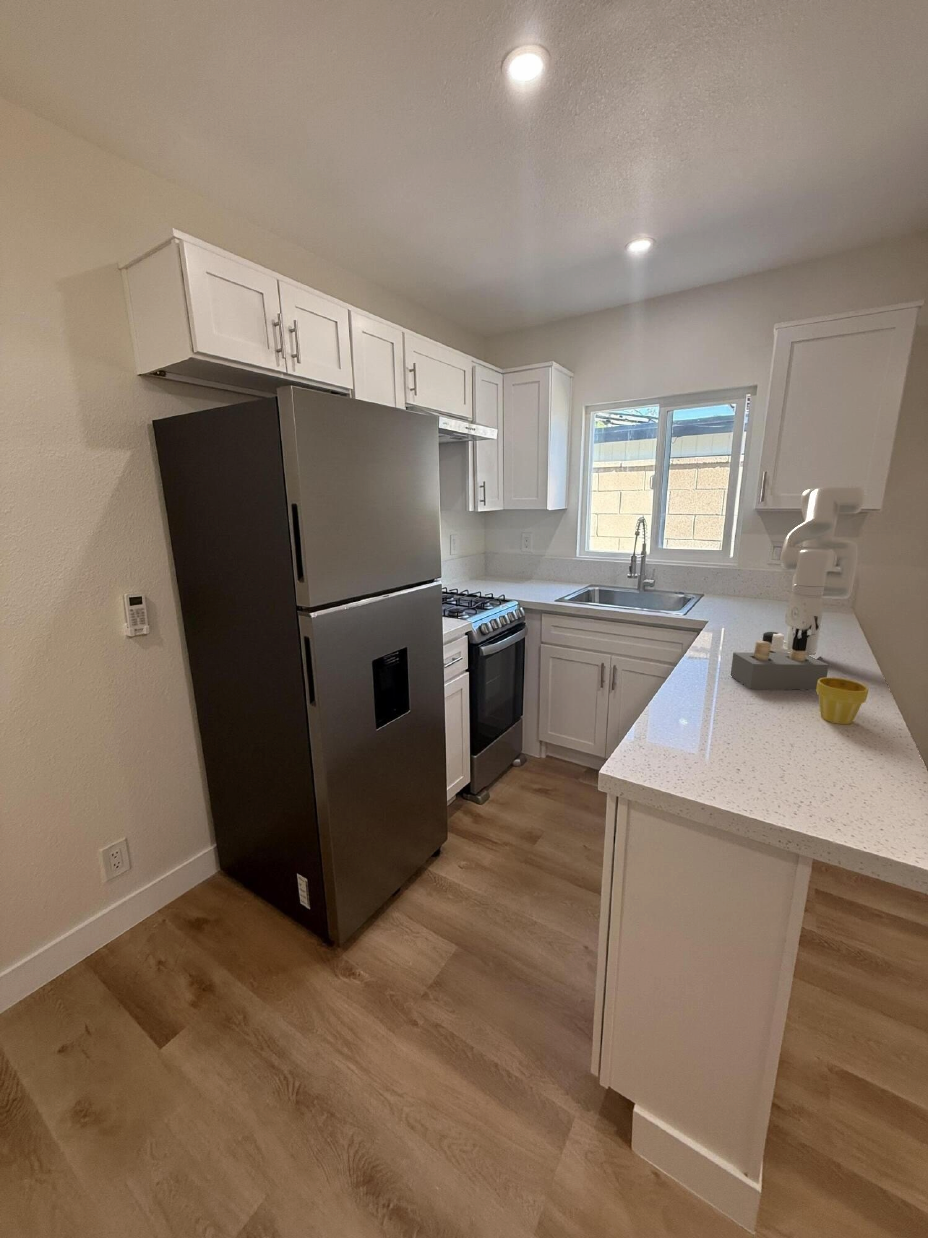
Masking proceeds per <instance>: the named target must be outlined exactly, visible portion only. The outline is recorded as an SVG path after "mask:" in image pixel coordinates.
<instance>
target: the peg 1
mask: <svg viewBox="0 0 928 1238" xmlns="http://www.w3.org/2000/svg"><path fill="white" fill-rule="evenodd" d="M770 646H771V643H769V642H766V641H762V640H757V641H755V647H754V652H753V653H754V659H756V660H757V661H768V660H769V653H770Z"/></svg>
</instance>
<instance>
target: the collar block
mask: <svg viewBox="0 0 928 1238" xmlns="http://www.w3.org/2000/svg"><path fill="white" fill-rule="evenodd" d="M731 661H732V662H731V667H730V668H731V670H730V675H731V676H732V677H731V676H730V677H731V678H732V679H734V678H735V679H736V681H737V680H738V681H739V682H738V681H737V682H738V683H740V684H741V683H742V684H741V685H743V684H744V685H745V686H744V685H743V686H744V687H746V686H747V687H748V688H747V687H746V688H747V689H748V690H755V689H817V682H818V680H819V679H820V678H825V677H828V671H829V666H830V664H828V663H826V662H823V661H821V660H820V659H815V658H813V657H811V656H809V655H806V657H805V661H794V660H792V659H790V653H769V660H768V661H757V660H756V659H754V652H735V651H734V652H733V654H732V660H731ZM735 679H734V680H735Z"/></svg>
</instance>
